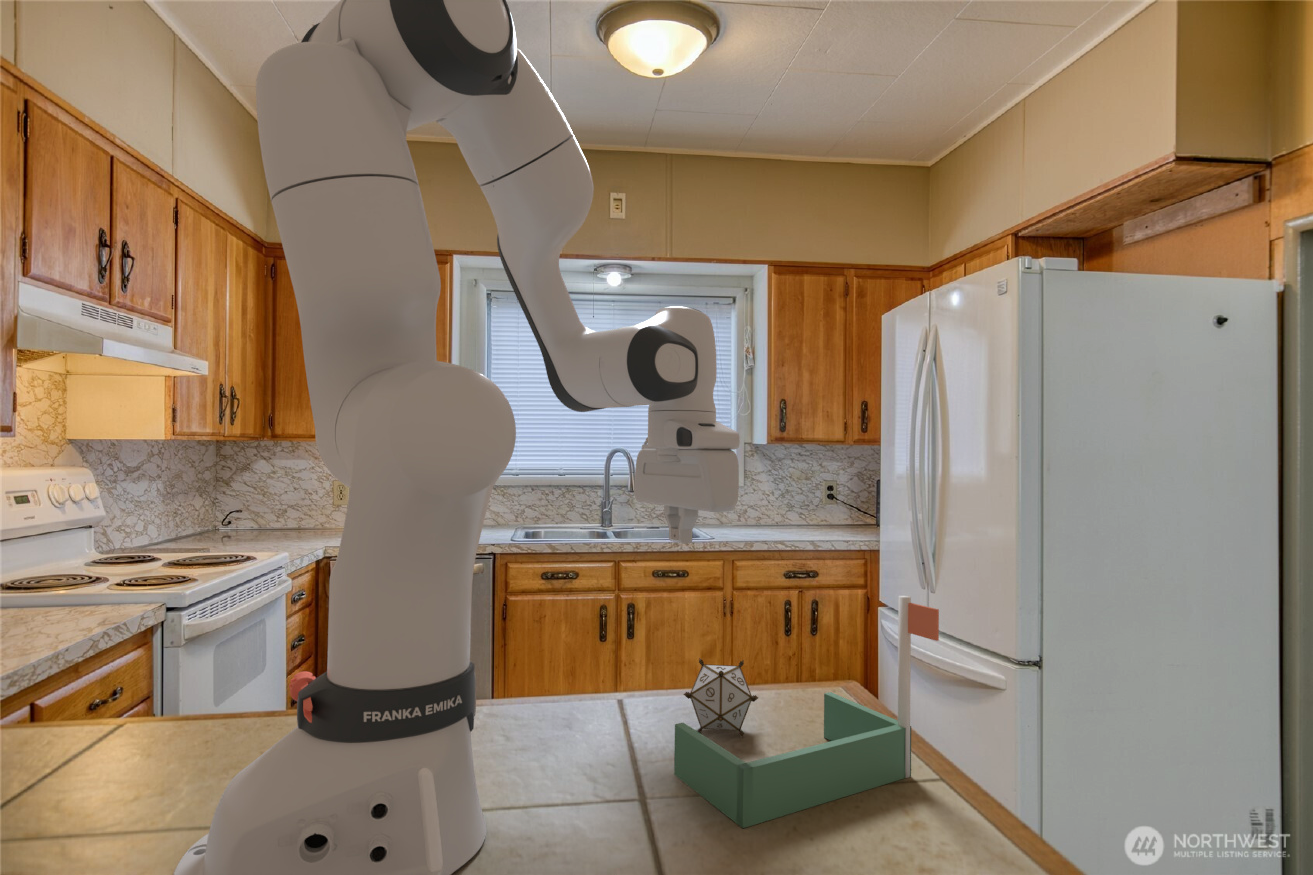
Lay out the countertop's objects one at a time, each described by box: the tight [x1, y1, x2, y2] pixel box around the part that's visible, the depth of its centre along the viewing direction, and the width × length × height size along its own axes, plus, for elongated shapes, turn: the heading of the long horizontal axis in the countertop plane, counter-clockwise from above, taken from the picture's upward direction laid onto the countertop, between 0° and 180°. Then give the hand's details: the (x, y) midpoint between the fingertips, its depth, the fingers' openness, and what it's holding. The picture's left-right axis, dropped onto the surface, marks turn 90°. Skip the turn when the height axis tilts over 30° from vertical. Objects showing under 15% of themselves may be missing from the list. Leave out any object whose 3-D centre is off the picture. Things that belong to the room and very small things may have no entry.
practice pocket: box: [673, 595, 940, 829], centre depth 69 cm, size 21×15×18 cm
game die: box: [683, 657, 759, 738], centre depth 82 cm, size 9×8×10 cm
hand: (680, 542), depth 90 cm, fingers closed
